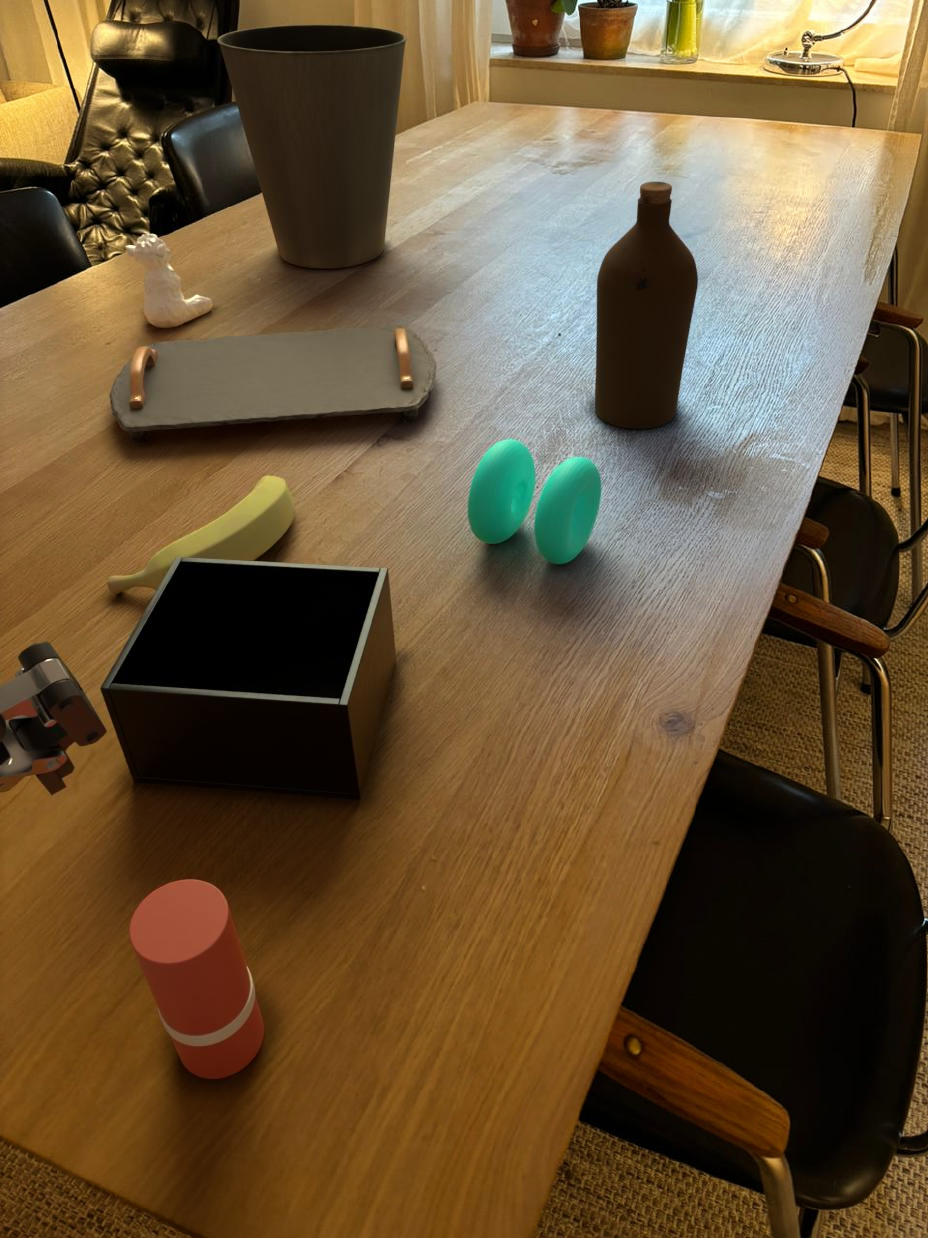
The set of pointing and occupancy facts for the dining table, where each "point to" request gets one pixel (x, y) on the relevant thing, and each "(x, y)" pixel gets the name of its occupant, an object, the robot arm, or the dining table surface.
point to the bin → (256, 677)
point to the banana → (225, 535)
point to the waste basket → (320, 133)
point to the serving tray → (272, 379)
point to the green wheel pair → (509, 493)
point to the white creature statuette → (164, 286)
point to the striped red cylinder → (198, 977)
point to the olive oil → (644, 317)
